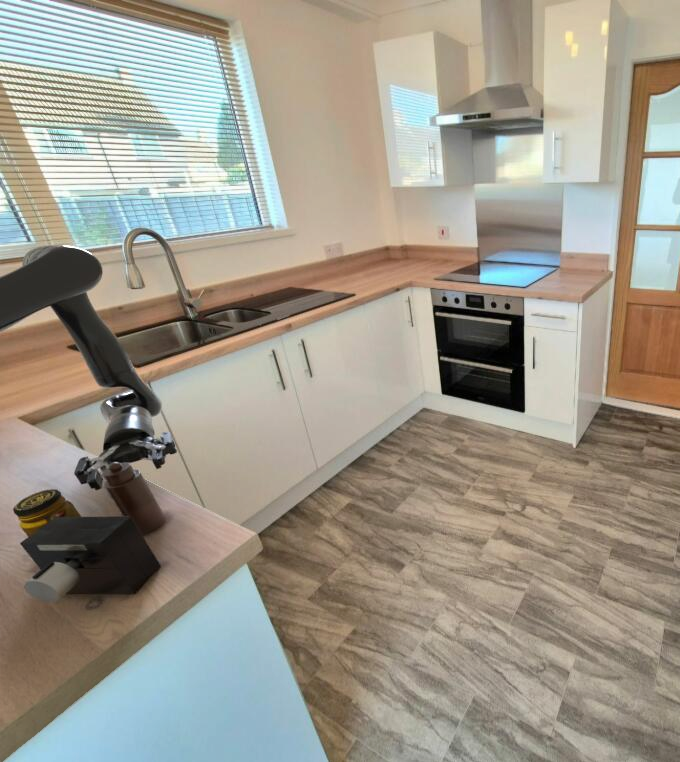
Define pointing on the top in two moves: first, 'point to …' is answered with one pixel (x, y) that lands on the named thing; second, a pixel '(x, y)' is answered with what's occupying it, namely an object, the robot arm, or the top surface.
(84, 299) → the robot arm
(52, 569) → the knob
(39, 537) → the panel
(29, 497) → the condiment
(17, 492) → the top surface
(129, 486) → the pepper mill
